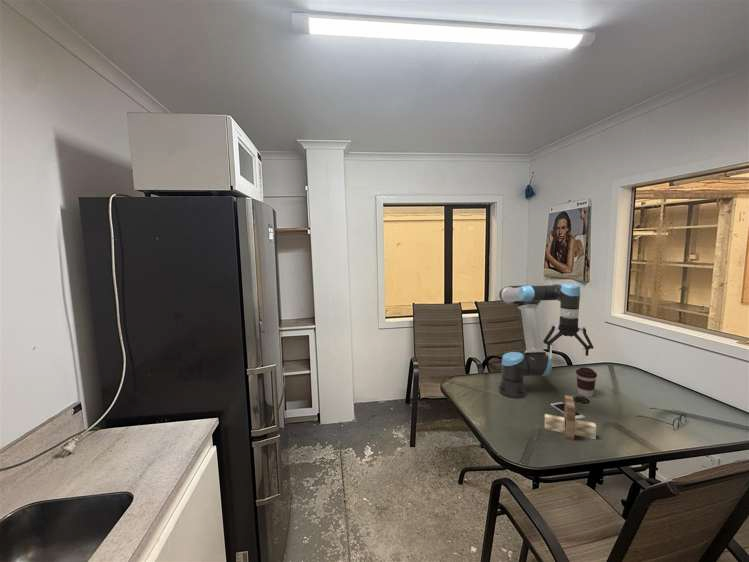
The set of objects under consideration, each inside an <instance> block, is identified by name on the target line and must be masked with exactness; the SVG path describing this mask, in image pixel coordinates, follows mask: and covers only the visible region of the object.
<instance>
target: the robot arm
mask: <svg viewBox="0 0 749 562" xmlns="http://www.w3.org/2000/svg"><path fill="white" fill-rule="evenodd" d="M498 295H499V296H498V297H499V299H500V301H502V302H503V303H504V304H507V305H517V309H519V310H520V313H521V321H522V328H523V335H524V336H523V337H524V342H525V348H526V349H525V350H524V351H523V353H522V352H518V351H517V352H516V351H510V352H505V353H504V354H502V358H501V380H500V381H499V385H498V393H499V394H501V395H503V396H505V397H507V398H510V399H511V398H512V399H522V398H524V397H526V396H527V389H526V385H525V383H524V377H543V376H544V377H545V376H548V375H550V373H551V372H552V369H553V362H552V354H553V353H552V352H553V351H552V350H553V343H554V342H555V341H556V340H558V339H559V338H560V337H562V336H564V337H571V338H572V337H574V338H575V339H577V341H579V343H580V344H581V345H582V346H583V347H582V360H581V361H582V363H583V364H585V363H586V356H587V357H588V356H589V351H590V350H591V349H594V346H593V343H592V341H591V340H590V337H589V335H588V333H587V329H586V327H585V326H584V327H579V316H580V315H579V313H580V302H581V301H580V299H581V287H580V285H579V284H577V283H562V284H559V283H552V284H550V285H548V284H547V285H546V284H545V285H534V284H533V285H529V284H527V285H508V286H504V287H503V288H501V289H500V291H499V293H498ZM542 301H558V302H559V303H560V305H559V315H560V316H559V324H558V325H555V324H552V325H551V328H550V330H549V331H548V332H547V334H546V336H545V338H544V339H543V341H542V337H541V331H540V330H541V329H540V327H539V326H540V325H539V318H538V311H537V309H538V308H539V304H540V303H542ZM557 329H558V332H557V333H556V334H555V335H554V336H553V337H552V338H551V336H552V335H553V333H554V332H555V331H556V330H557ZM579 331H580V333H582V334H583V336H584V338H585V340H586V342H587V343H586V342H585V340H583V339H582V338H581V336H579V334H578V333H579ZM542 342H543V344H546V345H547V348H546V351H547V352H549V355H548V354H547V352H546V351H545V350H544V349H543V345H542Z"/></svg>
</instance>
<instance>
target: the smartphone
mask: <svg viewBox="0 0 749 562" xmlns="http://www.w3.org/2000/svg"><path fill="white" fill-rule="evenodd" d="M550 405H551V406H552V407H553V408H555V409H556V410H558V411H559V412H561V413H563V414H564V409H565V402H562V401H559V402H554V403H550ZM585 418H586V416H585V415H583V414H582V413H580V412H579V411H576V410H575V420H579V419H585Z"/></svg>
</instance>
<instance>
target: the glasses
mask: <svg viewBox="0 0 749 562" xmlns="http://www.w3.org/2000/svg"><path fill="white" fill-rule="evenodd" d="M649 409H650V410H651V409H653V410H660V411H665V412H667V413H671V414H673V415H674V414H675V415H678V417H677V418H675V419H674V420H673V421H672V423H669V422H667V421H662V420H658V419H655V418H653V417H648V416H644V415H641V417H643V418H647V419H651V420H653V421H657V422H661V423H664V424H667V425H671V426H672V427H673V429H674V431H675V430H676V429H675V421H678V422H677V423H678V424H677V427H676V428H677V429H679V427H680V424H682V425H683V423H682V418H683V416H684V417H685V418H687V414H686V413H682V414H681V413H676V412H673V411H670V410H669V411H668V410H665V409H661V408H658V407H650V408H649ZM636 417H639V415H636ZM685 422H686V423H687V419H685V421H684V423H685Z"/></svg>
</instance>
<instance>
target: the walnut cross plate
mask: <svg viewBox="0 0 749 562" xmlns="http://www.w3.org/2000/svg"><path fill="white" fill-rule="evenodd" d="M564 404H565V409H564V413H563V417H564V419H565V427H566V432H565V433H564V434H565V439H566V440H571V441H575V435H574V431H575V420H576V419H575V411H576V406H575V400H574V398H573V396H571V395H564Z"/></svg>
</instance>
